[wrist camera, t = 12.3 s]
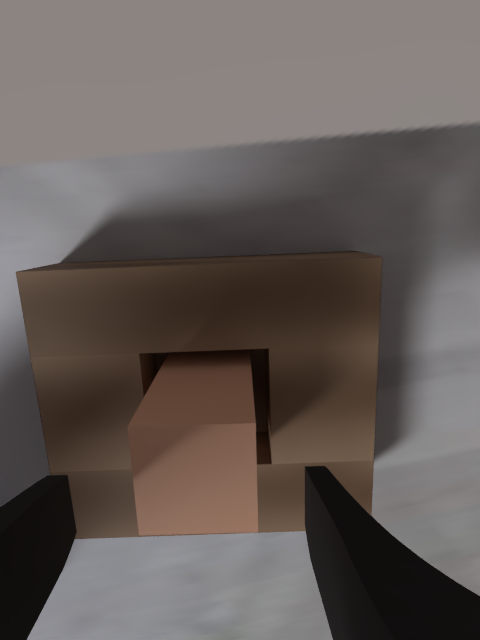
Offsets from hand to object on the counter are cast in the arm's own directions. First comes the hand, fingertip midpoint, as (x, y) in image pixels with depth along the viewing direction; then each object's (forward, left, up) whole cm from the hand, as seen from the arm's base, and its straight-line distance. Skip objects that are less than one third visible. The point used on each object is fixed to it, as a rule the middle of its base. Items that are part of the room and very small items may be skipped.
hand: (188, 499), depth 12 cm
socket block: (0, 0, -10) cm, 10 cm away
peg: (0, 0, -9) cm, 9 cm away
